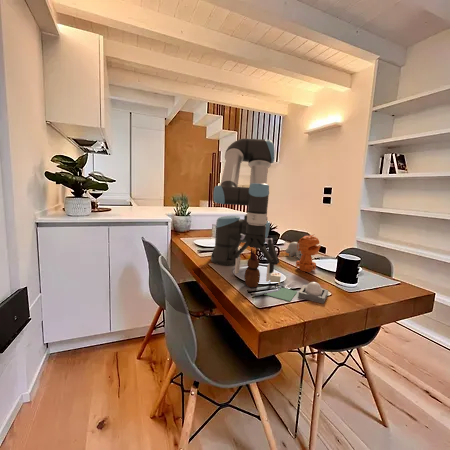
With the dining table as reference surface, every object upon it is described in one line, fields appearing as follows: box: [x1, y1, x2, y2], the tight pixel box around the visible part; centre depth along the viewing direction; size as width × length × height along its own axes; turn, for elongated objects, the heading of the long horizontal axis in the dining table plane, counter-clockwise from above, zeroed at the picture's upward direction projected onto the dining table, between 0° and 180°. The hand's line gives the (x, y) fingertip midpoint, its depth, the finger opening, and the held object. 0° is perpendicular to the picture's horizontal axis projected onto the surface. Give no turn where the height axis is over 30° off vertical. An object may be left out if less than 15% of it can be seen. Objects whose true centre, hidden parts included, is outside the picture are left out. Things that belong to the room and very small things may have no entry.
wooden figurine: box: [244, 247, 261, 288], centre depth 105 cm, size 7×6×15 cm
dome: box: [304, 281, 324, 297], centre depth 99 cm, size 6×6×5 cm
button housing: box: [297, 284, 329, 305], centre depth 100 cm, size 9×9×2 cm
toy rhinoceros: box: [285, 241, 303, 260], centre depth 150 cm, size 7×12×8 cm, turn 26°
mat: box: [263, 287, 298, 302], centre depth 100 cm, size 10×10×1 cm
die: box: [269, 271, 282, 286], centre depth 110 cm, size 4×4×4 cm
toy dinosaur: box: [295, 234, 322, 273], centre depth 128 cm, size 11×11×18 cm
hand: (252, 276), depth 105 cm, fingers open, 13 cm apart
